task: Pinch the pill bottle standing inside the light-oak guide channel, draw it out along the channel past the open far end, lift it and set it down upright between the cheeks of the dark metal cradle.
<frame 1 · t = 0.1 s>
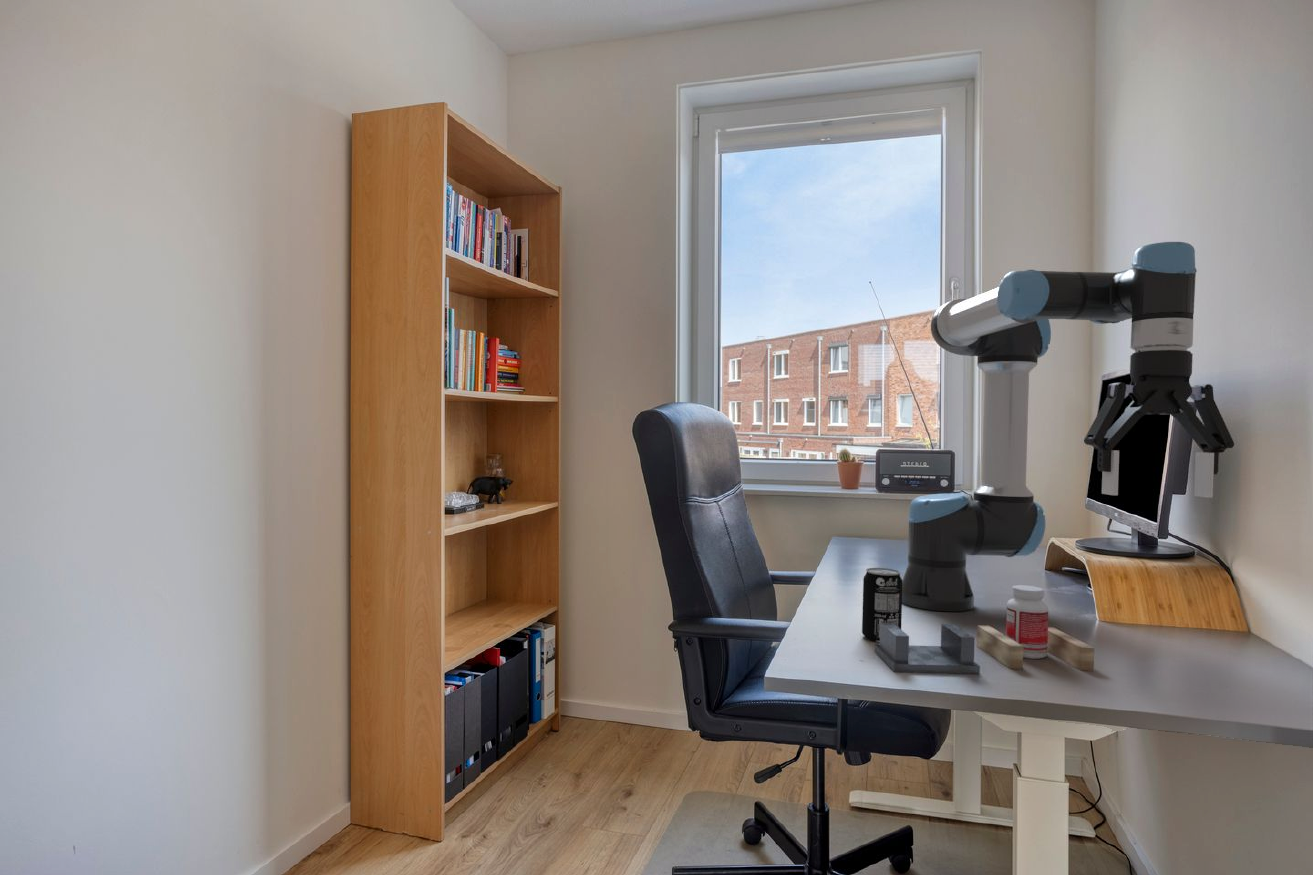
hand: (1156, 496, 108), 28 cm above the table, fingers open, 13 cm apart
cradle: (924, 662, 117), on the table
pill bottle: (1026, 655, 123), on the table
beverage can: (881, 639, 130), on the table
guide channel: (1032, 657, 121), on the table
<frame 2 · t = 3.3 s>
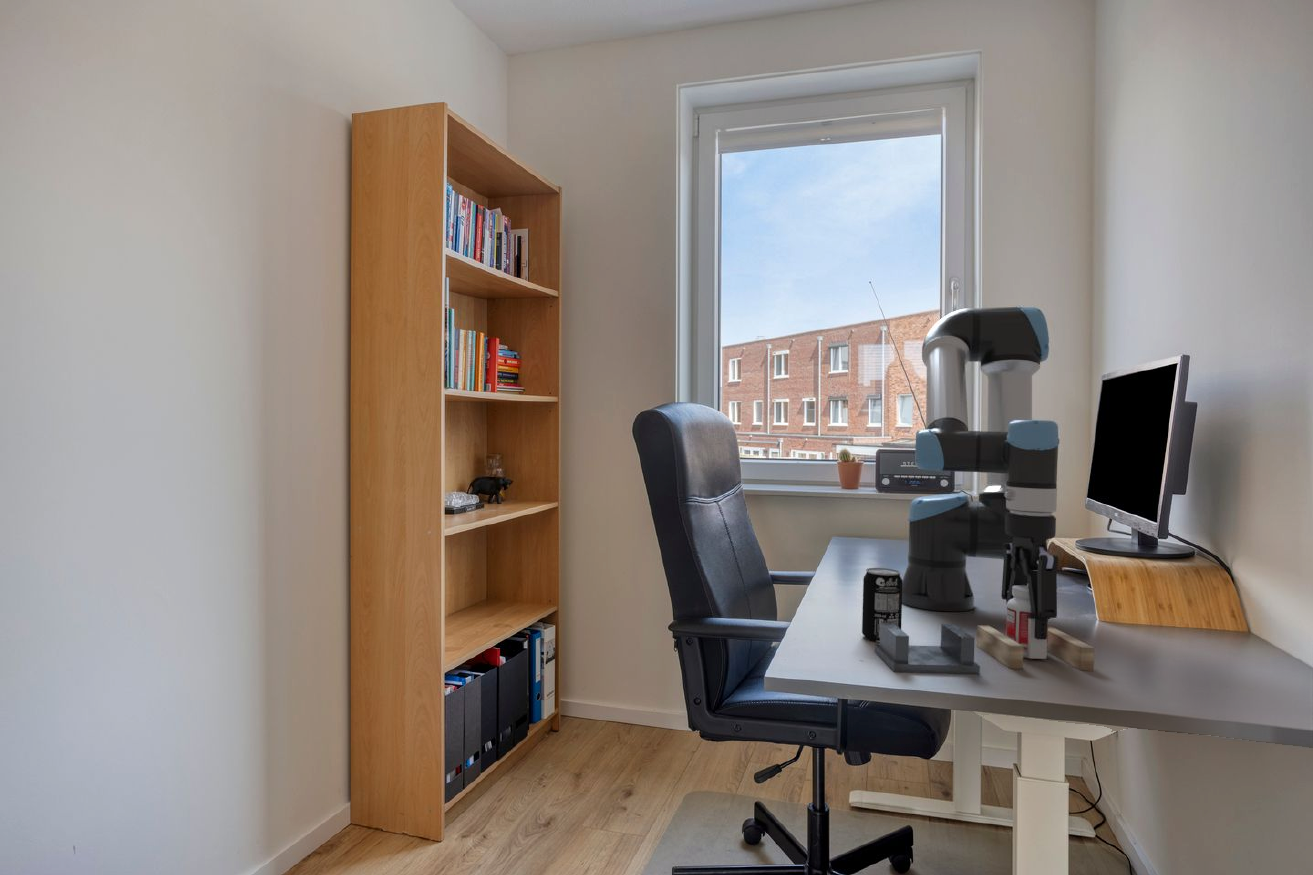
hand: (1026, 651, 123), 0 cm above the table, fingers closed on pill bottle, 6 cm apart
pill bottle: (1026, 655, 123), on the table, touching gripper
everything else where it was.
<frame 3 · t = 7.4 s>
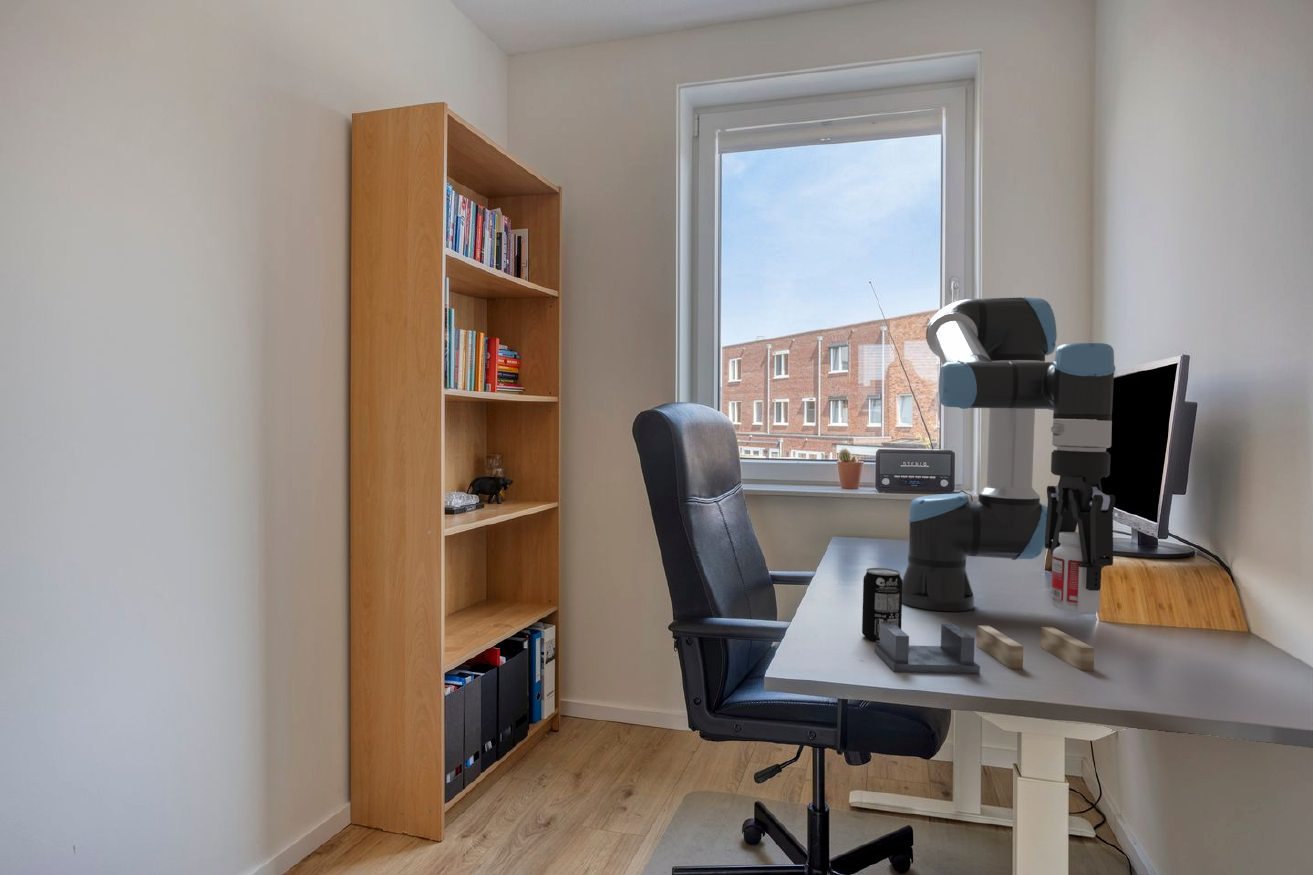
hand: (1074, 604, 109), 11 cm above the table, fingers closed on pill bottle, 6 cm apart
pill bottle: (1074, 609, 109), point 11 cm above the table, touching gripper
everything else where it was.
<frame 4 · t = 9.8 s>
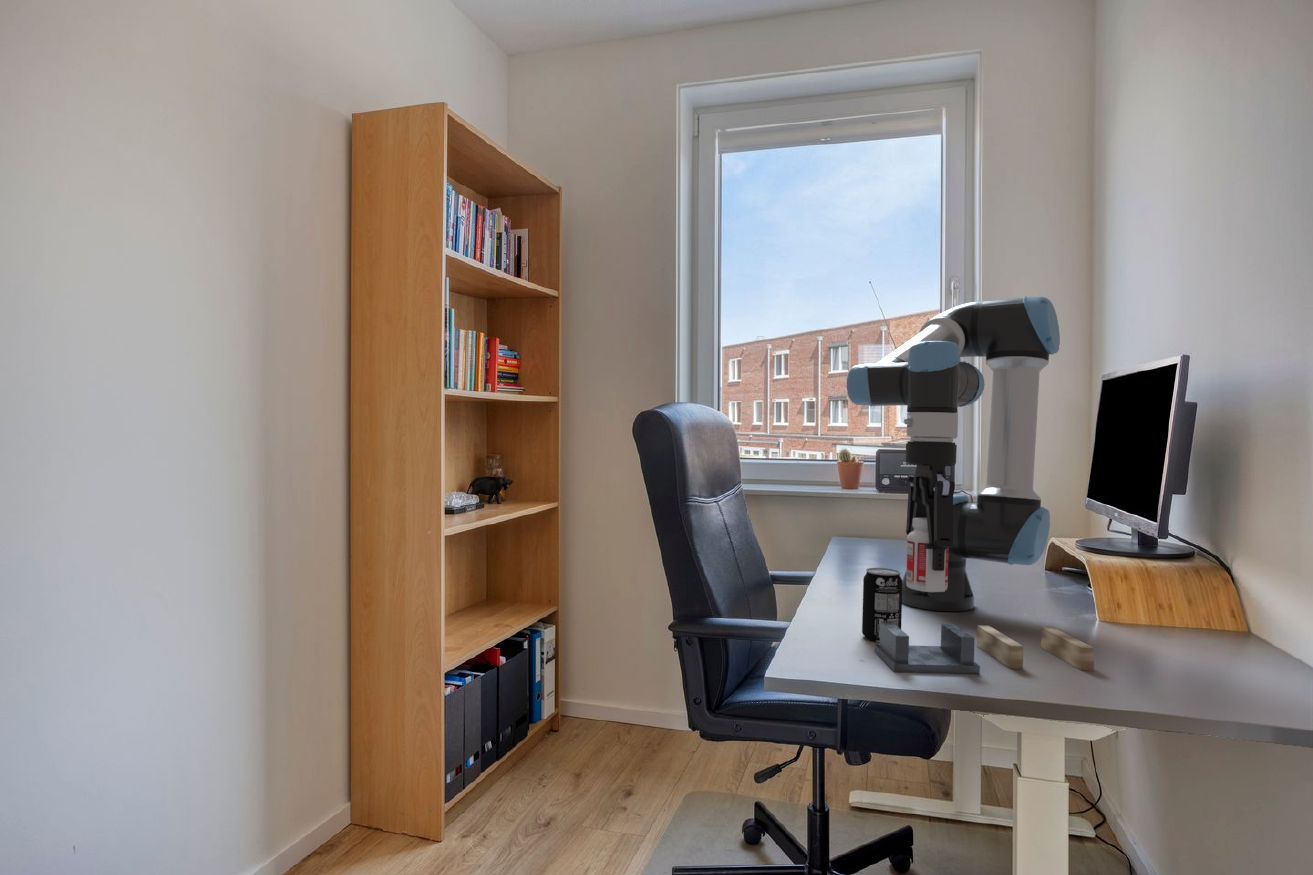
hand: (926, 585, 116), 12 cm above the table, fingers closed on pill bottle, 6 cm apart
pill bottle: (926, 590, 116), point 12 cm above the table, touching gripper
everything else where it was.
when the fingers open (3 cm above the table, at t = 11.7 s): pill bottle drops 1 cm, resting on cradle.
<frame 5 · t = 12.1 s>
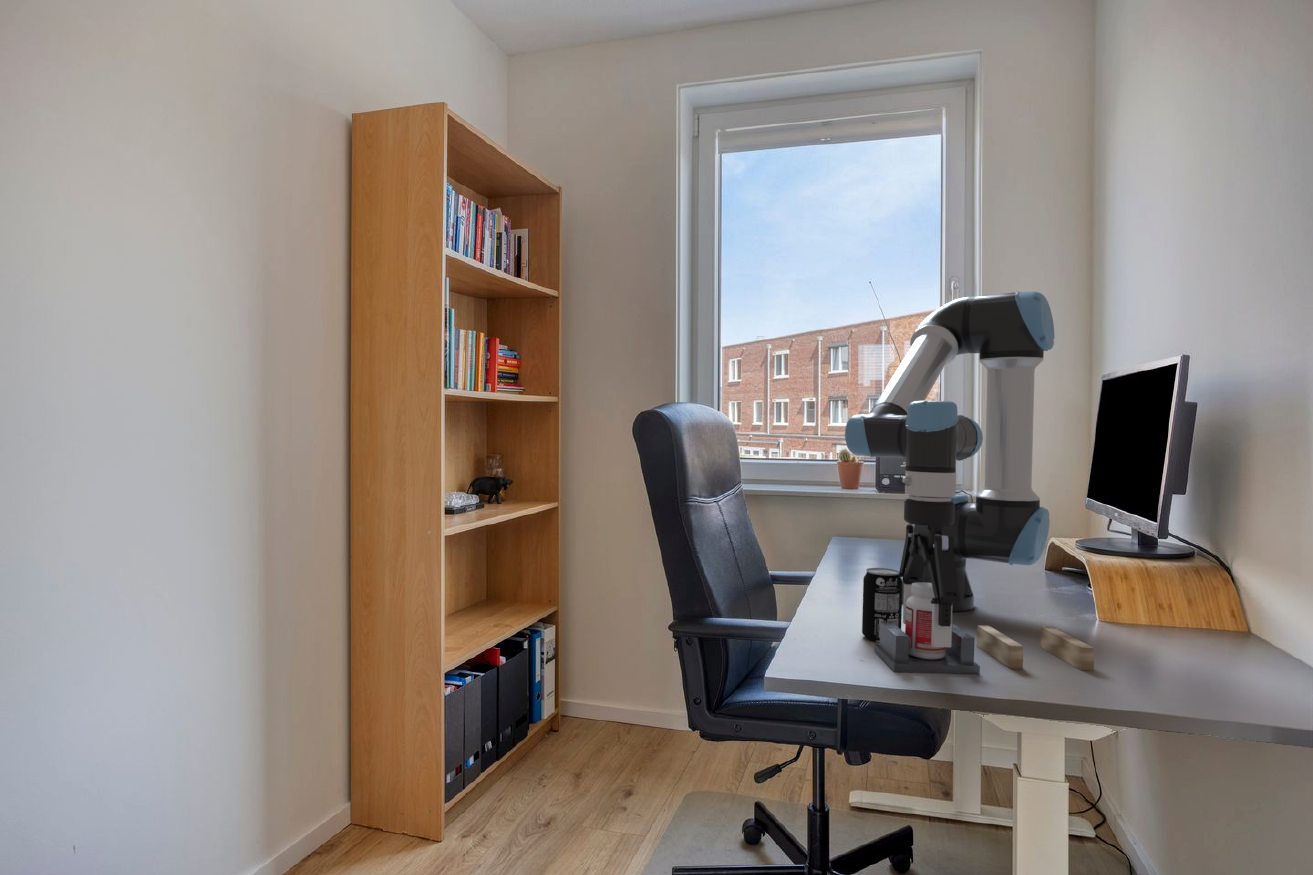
hand: (925, 634, 117), 4 cm above the table, fingers open, 12 cm apart
pill bottle: (924, 655, 117), point 1 cm above the table, touching cradle
everything else where it was.
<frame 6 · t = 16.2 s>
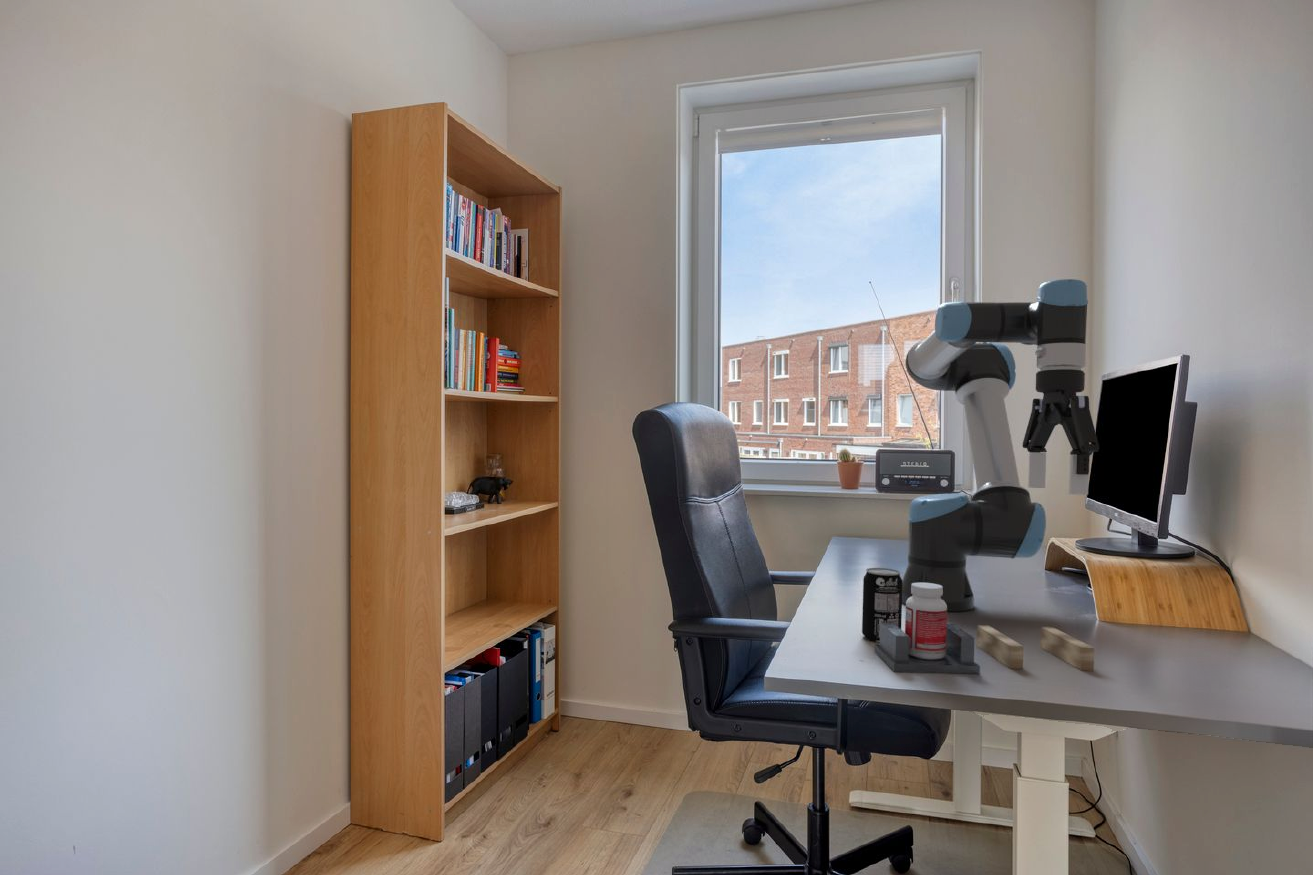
hand: (1056, 491, 129), 27 cm above the table, fingers open, 13 cm apart
nothing on the table moved.
at the end: pill bottle 0.1 cm off-centre on the cradle, point 1.0 cm above the cradle's base; pill bottle tilted 0°; the gripper is holding nothing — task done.
